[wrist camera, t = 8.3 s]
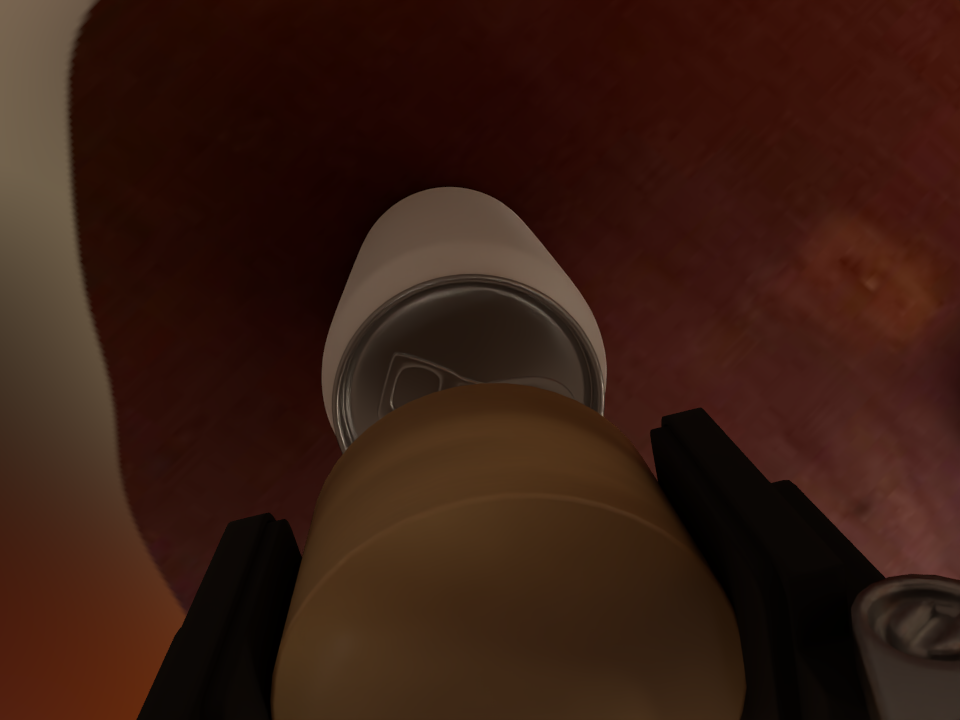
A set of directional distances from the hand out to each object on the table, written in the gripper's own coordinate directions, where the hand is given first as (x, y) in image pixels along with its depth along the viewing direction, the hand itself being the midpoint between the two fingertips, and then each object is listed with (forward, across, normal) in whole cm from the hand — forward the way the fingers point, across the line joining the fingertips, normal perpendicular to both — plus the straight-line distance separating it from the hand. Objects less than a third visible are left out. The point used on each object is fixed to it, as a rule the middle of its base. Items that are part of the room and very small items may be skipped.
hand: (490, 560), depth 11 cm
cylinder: (0, 0, 0) cm, 0 cm away
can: (+17, 0, 0) cm, 17 cm away
